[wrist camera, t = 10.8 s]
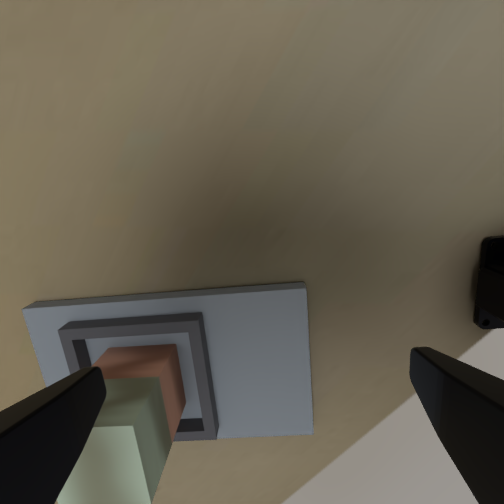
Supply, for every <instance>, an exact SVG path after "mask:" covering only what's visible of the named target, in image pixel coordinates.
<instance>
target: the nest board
mask: <svg viewBox="0 0 504 504" xmlns="http://www.w3.org/2000/svg"><path fill="white" fill-rule="evenodd" d="M22 312H23V315H24V318H25V321H26V324H27V328H28V331H29V334H30V337H31V340H32V343H33V347H34V350H35V353H36V356H37V359H38V362H39V366H40V369H41V372H42V375H43V378H44V381H45V384H46V387H48V386H50V385H52V384H53V383H55V382H57V381H59V380H61V379H63V378H65V377H67V376H69V375H70V374H72V373H74V372H76V371H78V370H80V369H82V368H84V367H91V366H92V365H93V364H94V363H95V362H96V361H97V360H98V359H99V358H100V356H101V355H102V354H103V353H104V352H105V351H106V350H107V349H108V348H111V347H128V346H145V345H162V344H176V346H177V351H178V357H179V363H180V369H181V374H182V380H183V386H184V392H185V398H186V405H185V408H184V410H183V413H182V416H181V419H180V422H179V425H178V428H177V431H176V434H175V437H174V440H173V441H194V440H217V438H240V437H264V436H287V435H311V434H314V430H313V410H312V391H311V371H310V351H309V331H308V311H307V291H306V286H305V284H304V282H296V283H283V284H270V285H256V286H243V287H229V288H216V289H202V290H189V291H176V292H162V293H149V294H135V295H122V296H108V297H95V298H82V299H68V300H55V301H41V302H34V303H32V304H30V305H28V306H26V307H25V308H23V309H22Z"/></svg>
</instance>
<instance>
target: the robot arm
mask: <svg viewBox="0 0 504 504" xmlns="http://www.w3.org/2000/svg"><path fill="white" fill-rule="evenodd" d="M493 242H494V246H493V247H491V244H492V243H493ZM484 320H485V322H483V321H484ZM474 322H475V324H476V325H477V326H478V327H480V328H482V329H496V328H504V236H493V237H488V238H486V239H485V240H484V241H483V244H482V252H481V262H480V271H479V276H478V286H477V295H476V309H475V318H474ZM482 322H483V323H482ZM409 373H410V379H411V382H412V384H413V386H414V388H415V390H416V393H417V395H418V396H419V398H420V401H421V403H422V405H423V407H424V409H425V411H426V413H427V415H428V417H429V419H430V421H431V423H432V425H433V427H434V429H435V431H436V433H437V435H438V437H439V439H440V441H441V442H442V444H443V446H444V447H445V449H446V451H447V452H448V454H449V455H450V457H451V459H452V460H453V462H454V464H455V465H456V467H457V469H458V470H459V472H460V473H461V475H462V477H463V478H464V480H465V482H466V483H467V485H468V487H469V488H470V490H471V492H472V493H473V495H474V496H475V498H476V500H477V501H478V503H479V504H504V380H502V379H500V378H497V377H495V376H493V375H490V374H488V373H486V372H483V371H481V370H479V369H477V368H475V367H472V366H470V365H468V364H466V363H463V362H461V361H459V360H457V359H454V358H452V357H450V356H448V355H445V354H443V353H441V352H439V351H436V350H434V349H432V348H430V347H414V348H412V349H411V353H410V372H409ZM106 394H107V390H106V385H105V381H104V377H103V374H102V370H101V368H100V367H98V366H92V367H84V368H82V369H80V370H78V371H76V372H74V373H72V374H70V375H69V376H67V377H65V378H63V379H61V380H59V381H57V382H55V383H53V384H52V385H50V386H48V387H46V388H44V389H42V390H40V391H38V392H36V393H35V394H33V395H31V396H29V397H27V398H25V399H23V400H21V401H19V402H18V403H16V404H14V405H12V406H10V407H8V408H6V409H4V410H2V411H1V412H0V504H55V502H56V500H57V498H58V496H59V494H60V492H61V491H62V489H63V487H64V485H65V483H66V481H67V479H68V478H69V476H70V474H71V472H72V470H73V468H74V466H75V465H76V463H77V461H78V459H79V457H80V455H81V453H82V451H83V449H84V447H85V444H86V442H87V440H88V438H89V435H90V433H91V431H92V428H93V426H94V424H95V422H96V419H97V417H98V415H99V412H100V410H101V408H102V405H103V403H104V401H105V398H106Z"/></svg>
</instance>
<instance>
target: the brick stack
mask: <svg viewBox="0 0 504 504" xmlns="http://www.w3.org/2000/svg"><path fill="white" fill-rule="evenodd" d="M92 366H98V367H100V368H101V370H102V374H103V377H104V381H105V385H106V390H107V394H106V398H105V401H104V403H103V405H102V408H101V410H100V412H99V415H98V417H97V419H96V422H95V424H94V426H93V428H92V431H91V433H90V435H89V438H88V440H87V442H86V444H85V447H84V449H83V451H82V453H81V455H80V457H79V459H78V461H77V463H76V465H75V466H74V468H73V470H72V472H71V474H70V476H69V478H68V479H67V481H66V483H65V485H64V487H63V489H62V491H61V492H60V494H59V496H58V498H57V501H58V504H151V503H152V501H153V498H154V495H155V492H156V489H157V486H158V483H159V480H160V477H161V474H162V471H163V469H164V466H165V463H166V460H167V457H168V454H169V451H170V448H171V445H172V442H173V440H174V437H175V434H176V431H177V428H178V425H179V422H180V419H181V416H182V413H183V410H184V408H185V405H186V398H185V392H184V386H183V380H182V374H181V369H180V363H179V357H178V351H177V346H176V344H162V345H145V346H128V347H111V348H108V349H107V350H106V351H105V352H104V353H103V354H102V355H101V356H100V358H99V359H98V360H97V361H96V362H95V363H94V364H93V365H92ZM92 366H91V367H92Z"/></svg>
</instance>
